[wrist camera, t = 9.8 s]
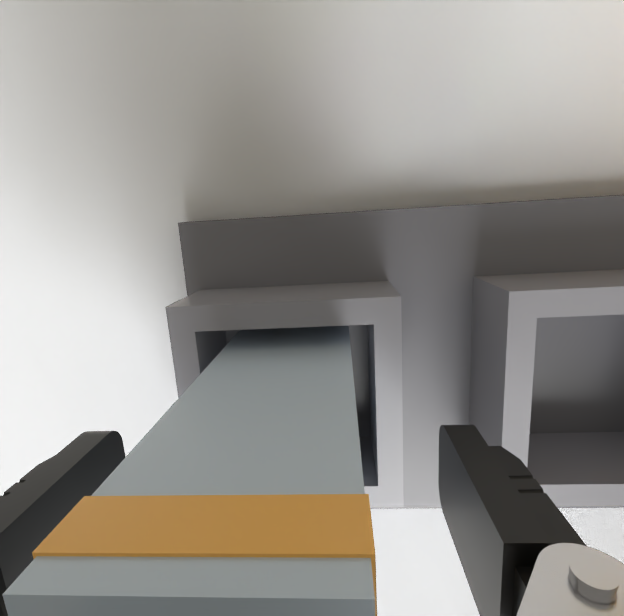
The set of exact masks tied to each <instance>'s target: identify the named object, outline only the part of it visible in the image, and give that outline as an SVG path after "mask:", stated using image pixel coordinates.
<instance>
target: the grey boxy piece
mask: <svg viewBox="0 0 624 616" xmlns="http://www.w3.org/2000/svg"><path fill="white" fill-rule="evenodd" d="M178 226H179V233H180V241H181V249H182V257H183V264H184V272H185V280H186V288H187V295H188V296H187V297H185V298H183V299H181V300H179V301H177V302H175V303H173V304H171V305H169V306H167V307H166V313H167V320H168V327H169V334H170V341H171V348H172V355H173V362H174V370H175V377H176V384H177V391H178V398H179V397H180V396H181V395H182V394H183V393H184V392H185V391H186V390H187V388H188V387H189V386H190V385H191V384H192V383H193V382H194V381H195V380H196V378H197V377H198V376H199V375H200V374H201V373H202V372H203V371H204V370H205V368H206V367H207V366H208V365H209V364H210V363H211V362H212V361H213V359H214V358H215V357H216V356H217V355H218V354H219V353H220V352H221V351H222V349H223V348H224V347H225V346H226V345H227V344H228V343H229V342H230V341H231V339H232V338H233V337H234V336H235V335H236V334H237V333H238V332H239V331H240V330H248V329H273V328H298V327H323V326H348V325H349V335H350V345H351V356H352V366H353V377H354V387H355V398H356V408H357V418H358V429H359V439H360V450H361V460H362V471H363V481H364V492H365V494H369V502H370V509H376V508H442V506H441V502H440V496H439V484H438V477H439V429H440V426H441V425H469V424H473V425H475V427H476V428H477V429H478V431H479V432H480V434H481V435H482V437H483V438H484V440H485V441H486V443H487V444H488V446H502V447H503V448H505V449H506V450H508V451H509V452H510V453H512V454H513V455H515V456H516V457H518V458H519V459H521V461H522V462H523V463H524V465H525V466H526V467H527V469H528V470H529V471H530V473H531V474H532V475H533V479H536V480H537V482H538V483H539V484H540V486H541V487H542V488H543V491H544V493H546V494H547V495H548V496H549V498H550V499H551V500H552V501H553V503H554V504H555V505H556V507H557V508H597V507H624V195H615V196H599V197H583V198H567V199H551V200H535V201H519V202H503V203H487V204H471V205H455V206H439V207H423V208H407V209H390V210H374V211H358V212H342V213H326V214H310V215H294V216H278V217H262V218H246V219H230V220H214V221H198V222H182V223H178Z"/></svg>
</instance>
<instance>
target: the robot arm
mask: <svg viewBox="0 0 624 616" xmlns="http://www.w3.org/2000/svg"><path fill="white" fill-rule="evenodd" d="M124 459H125V453H124V447H123V441H122V438H121V435H120V434H119V433H118V432H116V431H90V432H84V433H82V434H81V435H80V436H78V437H77V438H76V439H75V440H73V441H72V442H71V443H70V444H69V445H67V446H66V447H65V448H64V449H63V450H61V451H60V452H59V453H58V454H57V455H55V456H53V457H52V458H50V459H48V460H46V461H44V462H42V463H41V464H39V465H37V466H36V467H35V468H34V469H32V470H31V471H30V472H29V473H27V474H26V475H25V476H24V477H23V478H21V479H20V482H19V483H15V484H14V485H13V486H11V487H10V488H9V489H8V490H7V491H5V492H4V495H3V496H0V616H8V613H7V610H6V606H5V602H4V599H3V595H2V594H3V593H4V592H5V591H6V590H7V589H8V588H9V587H10V585H11V584H12V583H13V582H14V581H15V580H16V579H17V578H18V577H19V575H20V574H21V573H22V572H23V571H24V570H25V569H26V568H27V567H28V565H29V564H30V563H31V562H32V561H33V560H34V559H33V555H32V552H33V551H34V550H35V549H36V548H37V547H38V546H39V545H40V543H41V542H42V541H43V540H44V539H45V538H46V537H47V536H48V535H49V534H50V533H51V532H52V530H53V529H54V528H55V527H56V526H57V525H58V524H59V523H60V522H61V521H62V520H63V519H64V517H65V516H66V515H67V514H68V513H69V512H70V511H71V510H72V509H73V508H74V507H75V506H76V504H77V503H78V502H79V501H80V500H81V499H82V498H83V497H84V496H91V495H92V494H93V493H94V492H95V491H96V490H97V489H98V488H99V486H100V485H101V484H102V483H103V482H104V481H105V480H106V479H107V477H108V476H109V475H110V474H111V473H112V472H113V471H114V470H115V469H116V467H117V466H118V465H119V464H120V463H121V462H122V461H123V460H124ZM438 484H439V496H440V502H441V506H442V510H443V513H444V516H445V519H446V522H447V525H448V527H449V530H450V533H451V536H452V539H453V541H454V544H455V547H456V550H457V553H458V555H459V558H460V561H461V564H462V566H463V569H464V572H465V575H466V578H467V580H468V583H469V586H470V589H471V592H472V594H473V597H474V600H475V603H476V606H477V608H478V611H479V614H480V616H624V564H623V563H621V562H620V561H618V560H617V559H615V558H613V557H612V556H610V555H608V554H606V553H604V552H601V551H599V550H597V549H594V548H591V547H588V546H586V545H585V544H584V542H583V541H582V540H581V538H580V537H579V536H578V534H577V533H576V532H575V530H574V529H573V528H572V526H571V525H570V524H569V522H568V521H567V520H566V519H565V517H564V516H563V515H562V513H561V512H560V511H559V509H558V508H557V507H556V505H555V504H554V503H553V501H552V500H551V499H550V498H549V496H548V495H547V494H546V493H544V491H543V488H542V487H541V486H540V484H539V483H538V482H537V480H536V479H533V475H532V474H531V473H530V471H529V470H528V469H527V467H526V466H525V465H524V463H523V462H522V461H521V459H519V458H518V457H516V456H515V455H513V454H512V453H510V452H509V451H508V450H506V449H505V448H503V447H502V446H488V444H487V443H486V441H485V440H484V438H483V437H482V435H481V434H480V432H479V431H478V429H477V428H476V427H475V425H473V424H469V425H441V426H440V429H439V477H438Z"/></svg>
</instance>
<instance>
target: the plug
mask: <svg viewBox="0 0 624 616" xmlns="http://www.w3.org/2000/svg"><path fill="white" fill-rule="evenodd" d="M32 555H33V559H34V560H33V561H32V562H31V563H30V564H29V565H28V567H27V568H26V569H25V570H24V571H23V572H22V573H21V574H20V575H19V577H18V578H17V579H16V580H15V581H14V582H13V583H12V584H11V585H10V587H9V588H8V589H7V590H6V591H5V592H4V593H3V594H2V595H3V599H4V602H5V606H6V610H7V613H8V616H377V597H376V564H375V548H374V539H373V529H372V520H371V511H370V502H369V494H365V492H364V481H363V471H362V460H361V450H360V439H359V429H358V418H357V408H356V398H355V387H354V377H353V366H352V356H351V345H350V335H349V325H348V326H323V327H298V328H273V329H248V330H240V331H239V332H238V333H237V334H236V335H235V336H234V337H233V338H232V339H231V341H230V342H229V343H228V344H227V345H226V346H225V347H224V348H223V349H222V351H221V352H220V353H219V354H218V355H217V356H216V357H215V358H214V359H213V361H212V362H211V363H210V364H209V365H208V366H207V367H206V368H205V370H204V371H203V372H202V373H201V374H200V375H199V376H198V377H197V378H196V380H195V381H194V382H193V383H192V384H191V385H190V386H189V387H188V388H187V390H186V391H185V392H184V393H183V394H182V395H181V396H180V397H179V398H178V400H177V401H176V402H175V403H174V404H173V405H172V406H171V407H170V408H169V410H168V411H167V412H166V413H165V414H164V415H163V416H162V417H161V418H160V420H159V421H158V422H157V423H156V424H155V425H154V426H153V427H152V429H151V430H150V431H149V432H148V433H147V434H146V435H145V436H144V437H143V439H142V440H141V441H140V442H139V443H138V444H137V445H136V446H135V447H134V449H133V450H132V451H131V452H130V453H129V454H128V455H127V456H126V457H125V459H124V460H123V461H122V462H121V463H120V464H119V465H118V466H117V467H116V469H115V470H114V471H113V472H112V473H111V474H110V475H109V476H108V477H107V479H106V480H105V481H104V482H103V483H102V484H101V485H100V486H99V488H98V489H97V490H96V491H95V492H94V493H93V494H92V495H91V496H84V497H83V498H82V499H81V500H80V501H79V502H78V503H77V504H76V506H75V507H74V508H73V509H72V510H71V511H70V512H69V513H68V514H67V515H66V516H65V517H64V519H63V520H62V521H61V522H60V523H59V524H58V525H57V526H56V527H55V528H54V529H53V530H52V532H51V533H50V534H49V535H48V536H47V537H46V538H45V539H44V540H43V541H42V542H41V543H40V545H39V546H38V547H37V548H36V549H35V550H34V551H33V552H32Z"/></svg>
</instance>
